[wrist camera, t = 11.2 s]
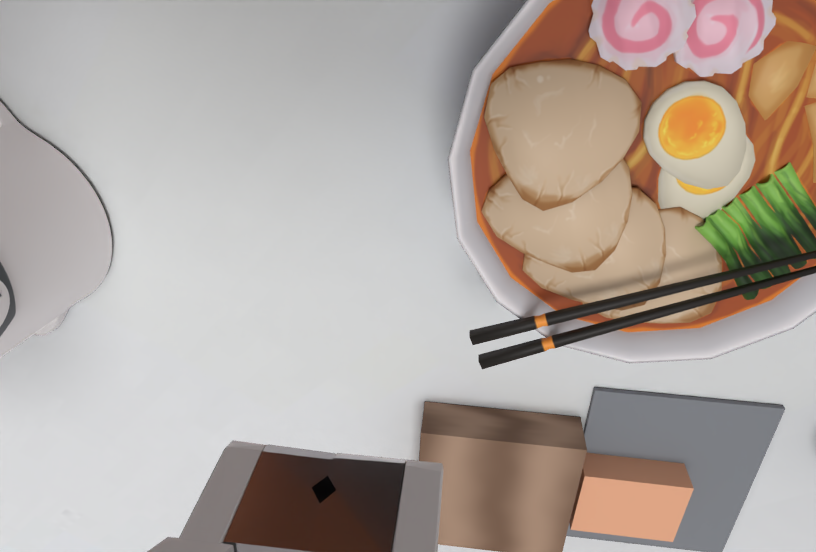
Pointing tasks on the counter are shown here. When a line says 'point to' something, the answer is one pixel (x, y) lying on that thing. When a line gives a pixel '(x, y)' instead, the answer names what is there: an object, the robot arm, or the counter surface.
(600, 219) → the ramen bowl
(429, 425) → the brown wooden square block
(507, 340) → the counter surface
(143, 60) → the counter surface
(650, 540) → the rubber mat
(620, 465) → the terracotta tile
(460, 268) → the counter surface
